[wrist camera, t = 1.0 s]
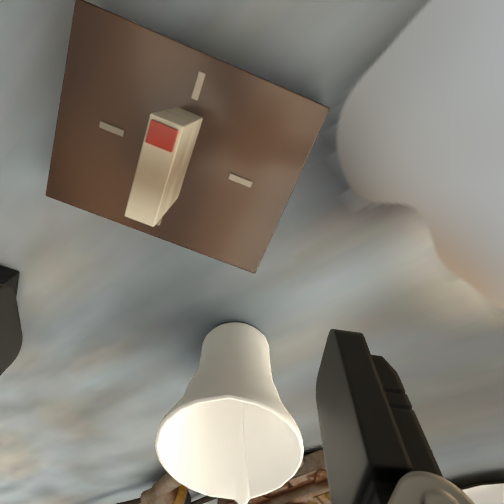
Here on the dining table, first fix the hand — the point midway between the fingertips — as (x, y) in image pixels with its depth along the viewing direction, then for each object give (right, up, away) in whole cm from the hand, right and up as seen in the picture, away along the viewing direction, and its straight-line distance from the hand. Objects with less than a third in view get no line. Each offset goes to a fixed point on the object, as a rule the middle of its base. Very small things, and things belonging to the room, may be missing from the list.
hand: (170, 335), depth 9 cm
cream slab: (-2, +8, +12) cm, 14 cm away
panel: (-2, +9, +15) cm, 17 cm away
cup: (+1, -6, +21) cm, 22 cm away
